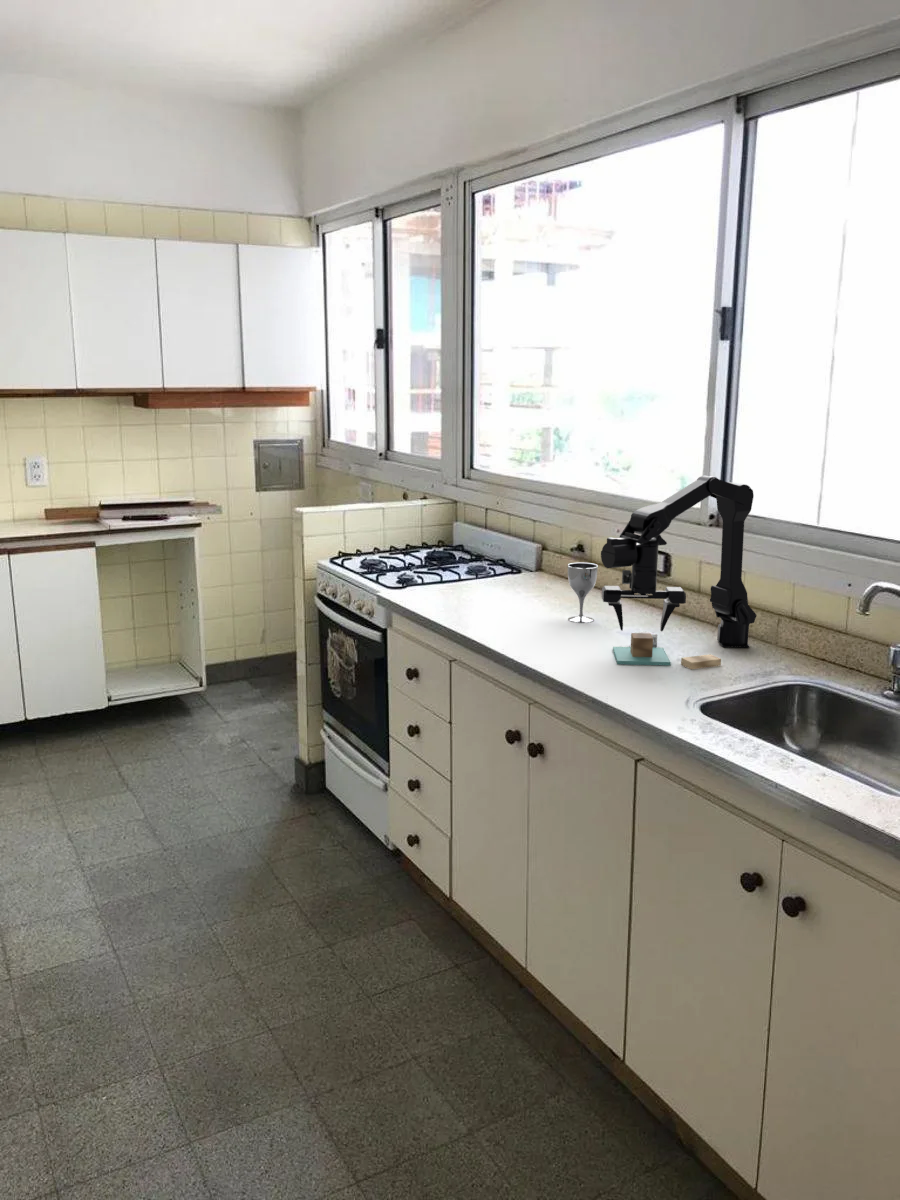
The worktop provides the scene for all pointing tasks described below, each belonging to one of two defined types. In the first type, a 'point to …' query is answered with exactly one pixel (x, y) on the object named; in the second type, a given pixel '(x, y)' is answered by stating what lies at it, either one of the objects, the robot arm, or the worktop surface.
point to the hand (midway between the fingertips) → (641, 630)
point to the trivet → (625, 657)
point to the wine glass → (582, 585)
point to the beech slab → (700, 661)
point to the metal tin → (653, 638)
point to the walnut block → (641, 644)
